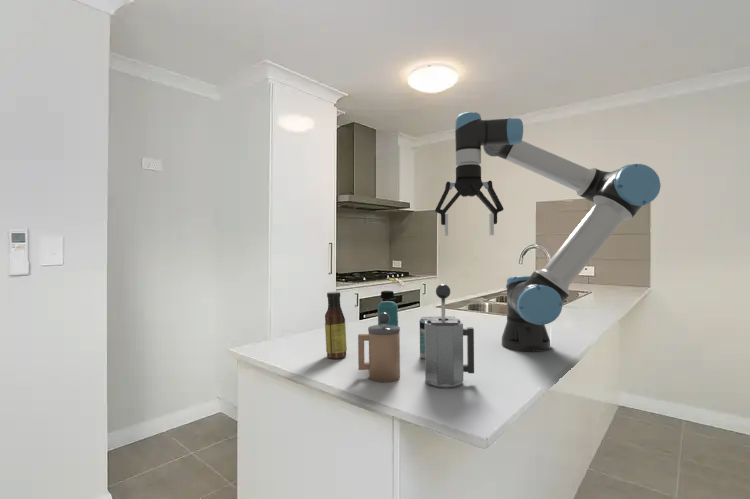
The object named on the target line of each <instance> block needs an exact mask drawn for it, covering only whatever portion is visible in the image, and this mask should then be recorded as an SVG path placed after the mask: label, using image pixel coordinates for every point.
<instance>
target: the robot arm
mask: <svg viewBox="0 0 750 499" xmlns="http://www.w3.org/2000/svg"><path fill="white" fill-rule="evenodd" d="M454 132H455V139H454V140H455V165H456V167H455V182H450V181H446V183H445V186H444V191H443V193H442V194H441V197H440V199H439V201H438V203H437V206H436V207H435V209H434V212H435V213H436V214H439V215H440V224H441V226H444V237H449V214H448V213H447V212H448V211H449V209H450V208H451V207H452V206H453V205H454V203H455V202H456V201H457V200H458V198H459V197H460V196H461V197H462V198H464V197H465V198H466V197H475V196H476V197H477V198H478V199H479V200H480V201H481V202H482V203H483V205H484V206H485V207H486V208H487V209H488V210H489V212H490V213H489V215H488V216H489V217H488V218H489V220H488V221H489V223H488V224H489V229H488V231H489V236H494V235H495V230H494V229H495V226H494V225H497V224H498V213H500V212H502V211H504V206H503V205H502V203H501V201H500V199H499V197H498V195H497V193H496V191H495V189H494V187H493V186H494V185H493V181H492V180H488V181H483V180H482V166H481V164H482V147H483V151H484V153H485V154H486V155H487V156H489V157H498V158H501V159H504V160H506V161H508V162H511V163H512V164H515V165H516V166H519V167H522V168H524V169H526V170H528V171H531V172H532V173H535V174H538V175H540V176H542V177H544V178H546V179H549V180H551V181H553V182H555V183H558V184H559V185H562V186H565V187H566V188H569V189H571V190H573V191H576V195H577V196H579V197H581V198H583V199H585V200H588V201H589V202H592V203H593V206H592V207H591V208H590V210H589V211H588V212H587V213H586V215H585V216H584V217H583V218H582V219H581V221H580V222H579V224H578V225H577V226H576V227H575V228H574V230H573V231H572V232H571V234H570V235H569V236H568V237H567V238H566V239H565V241H564V242H563V243H562V244H561V246H560V247H559V248H558V250H556V251H555V253H554V255H553V256H552V257H551V258H550V260H548V262H547V263H546V264H545V266H544V267H543V268H542V269H537V270H534V271H533V272H532V273H531V274H530V275H529V276H528V275H527V276H525V275H522V276H521V275H520V276H510V277H508V278H507V280H506V286H505V288H506V323H505V326H504V329H503V333H502V335H501V345H502V346H503V347H505V348H507V349H511V350H514V351H522V352H543V351H547V350H548V351H549V349H550V348H551V339H550V336H549V333H548V330H547V327H546V325H548V324H551V323H553V322H555V321H556V320H557V319H558V318H559V317H560V315H561V313H562V310H563V303H564V302H565V301H566V300H567V299H568V297H569V296H570V290H569V287H570V286H571V284H572V283H573V282H574V281H575V279H576V278H577V277H578V276H579V274H580V273H582V271H583V270H584V268H585V267H587V265H588V264H589V262H590V261H591V260H592V259H593V258H594V256H595V255H597V253H598V252H599V250H600V249H601V247H603V245H604V244H605V243H606V242H607V240H608V239H609V238H610V236H612V234H613V233H614V231H616V230H617V228H618V227H619V226H620V224H621V223H622V222H626V221H631V220H632V219H633V218H634V216H635V215H636V214H637V213H638V211H640V209H641V208H642V207H644V206H646V205H648V204H650V203H651V202H653V201H654V200H655V199H656V198H658V195H659V194H660V190H661V187H662V186H661V180H660V177H659V174H658V173H657V172H656V171H655V169H653V168H652V167H651V166H648V165H647V164H643V163H632V164H626V165H624V166H622V167H620V168H619V169H615V170H613V171H604V170H600V169H598V168H595V167H592V168H587V167H585V166H582V165H581V164H579V163H575V162H573V161H571V160H568V159H566V158H564V157H562V156H559V155H557V154H555V153H552V152H550V151H547V150H545V149H542V148H540V147H539V146H536V145H533V144H531V143H529V142H527V141H524V140H523V139H524V138H523V137H524V122H523V121H522V119H521V118H514V117H513V118H512V117H508V118H501V119H500V118H497V119H496V118H495V119H482V117H481V113H480V112H479V113H478V112H476V111H475V112H473V111H468V112H463V113H460V114H459V115H457V117H456V118H455V131H454ZM482 187H484V188H485V189H486V190H487V192H488V195H489V196H490V198H491V200H492V202H493V203H492V202H491V201H490V200H489V199H488V198H487V197H486V196H485V194H484V193H483V192H482V191H481V189H482ZM453 188H455V189H456V193H455V194H454V196H453V197H452V198H451V199H450V200H449V202H448V203H447V204H446V205H445V207H443V205H444V202H445V200H446V198H447V197H448V194H449V192H450V191H451V190H452V189H453ZM493 204H494V205H493ZM442 207H443V209H441V208H442Z"/></svg>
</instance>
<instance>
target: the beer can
mask: <svg viewBox="0 0 750 499" xmlns="http://www.w3.org/2000/svg"><path fill="white" fill-rule="evenodd" d="M430 317H431V316H423V317H420V320H419V358H421V359H422V360H425V320H427V319H430Z"/></svg>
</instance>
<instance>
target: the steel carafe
mask: <svg viewBox="0 0 750 499" xmlns="http://www.w3.org/2000/svg"><path fill="white" fill-rule="evenodd" d="M429 317H430V319H427V320H425V359H424V372H425V374H424V376H425V378H424V379H425V380H424V381H425V383H426V385H427V386H430V387H433V388H436V389H446V390H447V389H456V388H459V387H461V386H463V383H464V373H468V374H475V335H474V334H475V329H474V327H471V326H470V327H466V328H464V323H463V322H462V320H461V319H460V318H456V316H445V320H442V316H429ZM464 336H466V342H467V343H466V345H467V346H466V350H467V351H466V353H467V355H466V356H467V357H466V358H467V359H466V360H467V364H464Z"/></svg>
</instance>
